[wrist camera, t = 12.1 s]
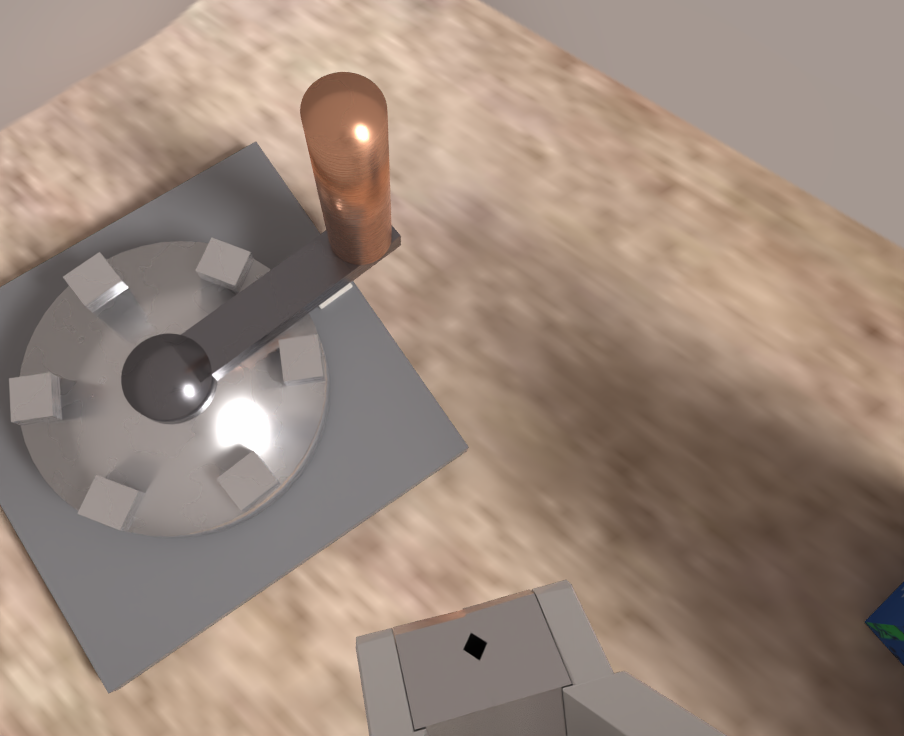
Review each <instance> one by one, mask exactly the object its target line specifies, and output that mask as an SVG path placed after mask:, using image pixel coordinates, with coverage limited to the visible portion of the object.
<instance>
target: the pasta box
mask: <svg viewBox="0 0 904 736" xmlns="http://www.w3.org/2000/svg"><path fill="white" fill-rule="evenodd" d="M865 623H866V625H867V626H868V627H869V628H870V629H871V630H872V631H873V632H874V633H875V635H876V636H877V637H878V638H879V639H880V640H881V641H882V642H883V643H884V645H885V646H886V647H887V648H888V649H889V650H890V651H891V652H892V653H893V655H894V656H895V657H896V658H897V659H898V660H899V661H900V662H901V663H902V665H903V666H904V582H903V583H902V584H901V585H900V586H899V587H898V588H897V589H896V590H895V591H894V592H893V593H892V594H891V595H890V596H889V597H888V598H887V599H886V600H885V601H884V602H883V603H882V604H881V605H880V606H879V607H878V608H877V609H876V610H875V612H874V613H873V614H872V615H871V616H870V617H869V618H868V619H867V620H866V621H865Z"/></svg>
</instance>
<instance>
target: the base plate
mask: <svg viewBox="0 0 904 736" xmlns="http://www.w3.org/2000/svg"><path fill="white" fill-rule="evenodd" d="M319 235H320V233H319V231H318V230H317V228H316V227H315V226H314V224H313V223H312V221H311V220H310V218H309V217H308V216H307V214H306V213H305V211H304V210H303V208H302V207H301V205H300V204H299V203H298V201H297V200H296V198H295V197H294V195H293V194H292V193H291V191H290V190H289V188H288V187H287V185H286V184H285V182H284V181H283V180H282V178H281V177H280V175H279V174H278V172H277V171H276V170H275V168H274V167H273V165H272V164H271V162H270V161H269V159H268V158H267V157H266V155H265V154H264V152H263V151H262V149H261V148H260V147H259V145H258V144H257V142H254V143H252V144H251V145H249V146H247V147H245V148H244V149H242V150H240V151H238V152H237V153H235V154H233V155H231V156H230V157H228V158H226V159H224V160H223V161H221V162H219V163H217V164H215V165H214V166H212V167H210V168H208V169H207V170H205V171H203V172H201V173H200V174H198V175H196V176H194V177H193V178H191V179H189V180H187V181H186V182H184V183H182V184H180V185H179V186H177V187H175V188H173V189H172V190H170V191H168V192H166V193H165V194H163V195H161V196H159V197H158V198H156V199H154V200H152V201H151V202H149V203H147V204H145V205H144V206H142V207H140V208H138V209H136V210H135V211H133V212H131V213H129V214H128V215H126V216H124V217H122V218H121V219H119V220H117V221H115V222H114V223H112V224H110V225H108V226H107V227H105V228H103V229H101V230H100V231H98V232H96V233H94V234H93V235H91V236H89V237H87V238H86V239H84V240H82V241H80V242H79V243H77V244H75V245H73V246H72V247H70V248H68V249H66V250H65V251H63V252H61V253H59V254H57V255H56V256H54V257H52V258H50V259H49V260H47V261H45V262H43V263H42V264H40V265H38V266H36V267H35V268H33V269H31V270H29V271H28V272H26V273H24V274H22V275H21V276H19V277H17V278H15V279H14V280H12V281H10V282H8V283H7V284H5V285H3V286H1V287H0V505H1V507H2V509H3V510H4V512H5V514H6V516H7V517H8V519H9V521H10V523H11V524H12V526H13V528H14V530H15V531H16V533H17V535H18V536H19V538H20V540H21V542H22V543H23V545H24V547H25V549H26V550H27V552H28V554H29V556H30V557H31V559H32V561H33V563H34V564H35V566H36V568H37V570H38V571H39V573H40V575H41V577H42V578H43V580H44V582H45V584H46V585H47V587H48V589H49V591H50V592H51V594H52V596H53V598H54V599H55V601H56V603H57V604H58V606H59V608H60V610H61V611H62V613H63V615H64V617H65V618H66V620H67V622H68V624H69V625H70V627H71V629H72V631H73V632H74V634H75V636H76V638H77V639H78V641H79V643H80V645H81V646H82V648H83V650H84V652H85V653H86V655H87V657H88V659H89V660H90V662H91V664H92V666H93V667H94V669H95V671H96V672H97V674H98V676H99V678H100V679H101V681H102V683H103V685H104V686H105V688H106V690H107V692H108V693H111V692H113V691H116V690H118V689H120V688H122V687H123V686H124V685H126V684H127V683H129V682H130V681H132V680H133V679H135V678H136V677H138V676H139V675H141V674H142V673H143V672H145V671H146V670H148V669H149V668H151V667H152V666H154V665H155V664H157V663H158V662H159V661H161V660H162V659H164V658H165V657H167V656H168V655H170V654H171V653H173V652H174V651H176V650H177V649H178V648H180V647H181V646H183V645H184V644H186V643H187V642H189V641H190V640H192V639H193V638H195V637H196V636H197V635H199V634H200V633H202V632H203V631H205V630H206V629H208V628H209V627H211V626H212V625H214V624H215V623H216V622H218V621H219V620H221V619H222V618H224V617H225V616H227V615H228V614H230V613H231V612H233V611H234V610H235V609H237V608H238V607H240V606H241V605H243V604H244V603H246V602H247V601H249V600H250V599H251V598H253V597H254V596H256V595H257V594H259V593H260V592H262V591H263V590H265V589H266V588H268V587H269V586H270V585H272V584H273V583H275V582H276V581H278V580H279V579H281V578H282V577H284V576H285V575H287V574H288V573H289V572H291V571H292V570H294V569H295V568H297V567H298V566H300V565H301V564H303V563H304V562H306V561H307V560H308V559H310V558H311V557H313V556H314V555H316V554H317V553H319V552H320V551H322V550H323V549H325V548H326V547H327V546H329V545H330V544H332V543H333V542H335V541H336V540H338V539H339V538H341V537H342V536H343V535H345V534H346V533H348V532H349V531H351V530H352V529H354V528H355V527H357V526H358V525H360V524H361V523H362V522H364V521H365V520H367V519H368V518H370V517H371V516H373V515H374V514H376V513H377V512H379V511H380V510H381V509H383V508H384V507H386V506H387V505H389V504H390V503H392V502H393V501H395V500H396V499H398V498H399V497H400V496H402V495H403V494H405V493H406V492H408V491H409V490H411V489H412V488H414V487H415V486H417V485H418V484H419V483H421V482H422V481H424V480H425V479H427V478H428V477H430V476H431V475H433V474H434V473H436V472H437V471H438V470H440V469H441V468H443V467H444V466H446V465H447V464H449V463H450V462H452V461H453V460H454V459H456V458H457V457H459V456H460V455H462V454H463V453H465V452H466V451H467V449H468V446H467V444H466V443H465V441H464V440H463V438H462V437H461V435H460V434H459V433H458V431H457V430H456V428H455V427H454V425H453V424H452V423H451V421H450V420H449V418H448V417H447V415H446V414H445V412H444V411H443V410H442V408H441V407H440V405H439V404H438V402H437V401H436V400H435V398H434V397H433V395H432V394H431V392H430V391H429V389H428V388H427V387H426V385H425V384H424V382H423V381H422V379H421V378H420V377H419V375H418V374H417V372H416V371H415V369H414V368H413V366H412V365H411V364H410V362H409V361H408V359H407V358H406V356H405V355H404V354H403V352H402V351H401V349H400V348H399V346H398V345H397V343H396V342H395V341H394V339H393V338H392V336H391V335H390V333H389V332H388V331H387V329H386V328H385V326H384V325H383V323H382V322H381V320H380V319H379V318H378V316H377V315H376V313H375V312H374V310H373V309H372V308H371V306H370V305H369V303H368V302H367V300H366V299H365V297H364V296H363V295H362V293H361V292H360V290H359V289H358V287H357V286H356V285H355V283H354V282H353V281H352V282H350V283H349V284H348V285H346V286H345V287H344V288H342V289H341V290H340V291H338V292H337V293H336V294H334V295H333V296H331V297H330V298H329V299H327V300H326V301H325V302H323V303H322V304H321V305H319V306H318V307H317V308H315V309H314V310H312V311H311V312H310V313H309V315H310V317H311V318H312V320H313V322H314V324H315V327H316V330H317V333H318V335H319V338H320V341H321V344H322V347H323V349H324V352H325V355H326V360H327V365H328V369H329V378H330V402H329V411H328V416H327V421H326V426H325V429H324V432H323V435H322V438H321V440H320V443H319V445H318V447H317V449H316V451H315V453H314V455H313V457H312V460H311V461H310V463H309V464H308V466H307V467H306V469H305V470H304V472H303V473H302V475H301V476H300V477H299V479H298V480H297V481H296V482H295V483H294V484H293V486H292V487H291V488H290V489H289V490H288V491H287V492H286V493H285V494H284V495H283V496H282V497H280V498H279V499H278V500H277V501H276V502H275V503H274V504H273V505H271V506H270V507H268V508H267V509H265V510H264V511H262V512H261V513H260V514H258V515H257V516H255V517H253V518H251V519H249V520H247V521H245V522H243V523H241V524H239V525H237V526H234V527H231V528H229V529H226V530H223V531H220V532H216V533H212V534H207V535H203V536H196V537H185V538H170V537H156V536H149V535H143V534H137V533H131V532H125V531H121V530H118V529H115V528H112V527H109V526H106V525H104V524H102V523H99V522H97V521H95V520H92V519H90V518H87V517H85V516H82V515H79V514H77V513H78V510H76V509H75V508H73V507H72V506H70V505H69V504H68V503H67V502H66V501H65V500H64V499H62V498H61V497H60V496H59V495H58V494H57V493H56V492H55V491H54V490H53V489H52V487H51V486H50V485H49V484H48V483H47V482H46V480H45V479H44V478H43V477H42V475H41V473H40V472H39V470H38V468H37V467H36V465H35V464H34V462H33V460H32V458H31V455H30V453H29V451H28V448H27V446H26V444H25V440H24V437H23V433H22V429H21V426H20V425H18V424H15V423H13V422H11V411H10V389H9V378H15V377H20V372H21V366H22V362H23V359H24V356H25V352H26V349H27V346H28V344H29V342H30V339H31V337H32V335H33V333H34V331H35V329H36V327H37V325H38V324H39V322H40V320H41V319H42V317H43V315H44V314H45V312H46V311H47V310H48V308H49V307H50V306H51V305H52V303H53V302H54V301H55V300H56V298H57V297H58V296H59V295H60V294H61V293H62V292H63V291H64V290H65V289H66V288H67V287H68V286H69V285H68V283H67V282H66V281H65V279H64V278H63V276H65V275H66V274H68V273H69V272H71V271H72V270H74V269H75V268H77V267H78V266H80V265H81V264H82V263H84V262H85V261H87V260H88V259H90V258H91V257H93V256H94V255H96V254H97V253H99V252H100V253H101V254H102V255H103V256H104V257H105V258H106V259H109V258H111V257H113V256H115V255H118V254H120V253H122V252H125V251H128V250H131V249H134V248H137V247H140V246H145V245H150V244H155V243H161V242H174V241H189V242H202V243H209V241H210V239H211V237H212V238H215V239H217V240H220V241H223V242H225V243H228V244H231V245H233V246H236V247H239V248H241V249H244V250H247V251H249V252H251V254H252V256H253V258H254V259H255V260H256V261H258V262H260V263H261V264H263V265H265V266H266V267H268V268H269V269H273V268H274V267H276V266H277V265H278V264H280V263H281V262H283V261H284V260H285V259H287V258H288V257H290V256H291V255H292V254H294V253H295V252H297V251H298V250H299V249H301V248H302V247H303V246H305V245H306V244H308V243H309V242H310V241H312V240H313V239H315V238H316V237H317V236H319Z"/></svg>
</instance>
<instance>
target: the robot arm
mask: <svg viewBox="0 0 904 736" xmlns="http://www.w3.org/2000/svg"><path fill="white" fill-rule="evenodd" d="M393 629H394V631H393ZM356 652H357V659H358V665H359V671H360V678H361V684H362V691H363V697H364V704H365V710H366V717H367V723H368V729H369V736H727V735H725V734H723V733H722V732H720V731H719V730H717V729H716V728H714V727H712V726H711V725H709V724H708V723H706V722H705V721H703V720H701V719H700V718H698V717H697V716H695V715H694V714H692V713H690V712H689V711H687V710H686V709H684V708H683V707H681V706H679V705H678V704H676V703H675V702H673V701H672V700H670V699H668V698H667V697H665V696H664V695H662V694H661V693H659V692H657V691H656V690H654V689H653V688H651V687H649V686H648V685H646V684H645V683H643V682H642V681H640V680H638V679H637V678H635V677H634V676H632V675H631V674H629V673H627V672H626V671H621V672H617V673H614V672H613V670H612V668H611V666H610V664H609V662H608V660H607V658H606V655H605V653H604V651H603V649H602V647H601V645H600V643H599V641H598V639H597V637H596V635H595V633H594V630H593V628H592V626H591V624H590V622H589V620H588V618H587V616H586V614H585V612H584V610H583V608H582V605H581V603H580V601H579V599H578V597H577V595H576V593H575V591H574V589H573V587H572V585H571V584H570V583H569V582H568V581H567V580H563V581H560V582H556V583H552V584H549V585H545V586H542V587H538V588H534V589H532V591H531V590H530V589H529V590H526V591H522V592H519V593H515V594H512V595H508V596H505V597H501V598H498V599H495V600H491V601H488V602H484V603H481V604H477V605H474V606H470V607H467V608H463V610H460V611H456V612H452V613H448V614H444V615H440V616H436V617H432V618H428V619H424V620H420V621H416V622H412V623H408V624H404V625H400V626H396V627H393V628H390V629H386V630H382V631H378V632H374V633H370V634H366V635H362V636H359V637H356Z"/></svg>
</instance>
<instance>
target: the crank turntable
mask: <svg viewBox="0 0 904 736" xmlns="http://www.w3.org/2000/svg"><path fill="white" fill-rule="evenodd" d="M300 114H301V120H302V124H303V129H304V133H305V137H306V142H307V146H308V151H309V155H310V159H311V164H312V168H313V173H314V177H315V181H316V186H317V190H318V195H319V199H320V203H321V208H322V212H323V217H324V221H325V226H326V231H324V232H323V233H322V234H320V235H319V236H317V237H316V238H315V239H313V240H312V241H310V242H309V243H308V244H306V245H305V246H303V247H302V248H301V249H299V250H298V251H297V252H295V253H294V254H292V255H291V256H290V257H288V258H287V259H285V260H284V261H283V262H281V263H280V264H278V265H277V266H276V267H274V268H273V269H269V268H268V267H266V266H265V265H263V264H261V263H260V262H258V261H256V260H255V259H254V258H253V256H252V254H251V252H249V251H247V250H244V249H241V248H239V247H236V246H233V245H231V244H228V243H225V242H223V241H220V240H217V239H215V238H212V237H211V239H210V241H209V243H202V242H189V241H174V242H161V243H155V244H150V245H145V246H140V247H137V248H134V249H131V250H128V251H125V252H122V253H120V254H118V255H115V256H113V257H111V258H109V259H106V258H105V257H104V256H103V255H102V254H101V253H100V252H99V253H97V254H96V255H94V256H93V257H91V258H90V259H88V260H87V261H85V262H84V263H82V264H81V265H80V266H78V267H77V268H75V269H74V270H72V271H71V272H69V273H68V274H66V275H65V276H63V278H64V279H65V281H66V282H67V283H68V285H69V286H68V287H67V288H66V289H65V290H64V291H63V292H62V293H61V294H60V295H59V296H58V297H57V298H56V300H55V301H54V302H53V303H52V305H51V306H50V307H49V308H48V310H47V311H46V312H45V314H44V315H43V317H42V319H41V320H40V322H39V324H38V325H37V327H36V329H35V331H34V333H33V335H32V337H31V339H30V342H29V344H28V346H27V349H26V352H25V356H24V359H23V362H22V366H21V372H20V377H15V378H9V389H10V411H11V422H13V423H15V424H18V425H20V426H21V429H22V433H23V437H24V440H25V444H26V446H27V448H28V451H29V453H30V455H31V458H32V460H33V462H34V464H35V465H36V467H37V468H38V470H39V472H40V473H41V475H42V477H43V478H44V479H45V480H46V482H47V483H48V484H49V485H50V486H51V487H52V489H53V490H54V491H55V492H56V493H57V494H58V495H59V496H60V497H61V498H62V499H64V500H65V501H66V502H67V503H68V504H69V505H70V506H72V507H73V508H75V509H76V510H78V513H77V514H79V515H82V516H85V517H87V518H90V519H92V520H95V521H97V522H99V523H102V524H104V525H106V526H109V527H112V528H115V529H118V530H121V531H125V532H131V533H137V534H143V535H149V536H156V537H170V538H185V537H196V536H203V535H207V534H212V533H216V532H220V531H223V530H226V529H229V528H231V527H234V526H237V525H239V524H241V523H243V522H245V521H247V520H249V519H251V518H253V517H255V516H257V515H258V514H260V513H261V512H262V511H264V510H265V509H267V508H268V507H270V506H271V505H273V504H274V503H275V502H276V501H277V500H278V499H279V498H280V497H282V496H283V495H284V494H285V493H286V492H287V491H288V490H289V489H290V488H291V487H292V486H293V484H294V483H295V482H296V481H297V480H298V479H299V477H300V476H301V475H302V473H303V472H304V470H305V469H306V467H307V466H308V464H309V463H310V461H311V460H312V457H313V455H314V453H315V451H316V449H317V447H318V445H319V443H320V440H321V438H322V435H323V432H324V429H325V426H326V421H327V416H328V411H329V402H330V378H329V369H328V365H327V360H326V355H325V352H324V349H323V347H322V344H321V341H320V338H319V335H318V333H317V330H316V327H315V324H314V322H313V320H312V318H311V317H310V315H309V313H310V312H311V311H312V310H314V309H315V308H317V307H318V306H319V305H321V304H322V303H323V302H325V301H326V300H327V299H329V298H330V297H331V296H333V295H334V294H336V293H337V292H338V291H340V290H341V289H342V288H344V287H345V286H346V285H348V284H349V283H350V282H352V281H353V280H354V279H356V278H357V277H359V276H360V275H361V274H363V273H364V272H365V271H367V270H368V269H369V268H371V267H372V266H373V265H375V264H376V263H377V262H379V261H380V260H382V259H383V258H384V257H386V256H387V255H388V254H390V253H391V252H392V251H394V250H395V249H396V248H398V247H399V246H401V236H400V234H399V233H398V232H397V231H396V230H395V229H394V227H393V226H392V225H391V199H390V172H389V144H388V116H387V104H386V100H385V97H384V95H383V93H382V92H381V90H380V89H379V88H378V86H377V85H376V84H375V83H373V82H372V81H371V80H369V79H368V78H366V77H364V76H361V75H359V74H355V73H350V72H337V73H332V74H329V75H326V76H324V77H321V78H320V79H318V80H317V81H315V82H314V83H313V84H312V85H311V86H310V87H309V88H308V89H307V91H306V92H305V94H304V96H303V99H302V102H301V108H300Z"/></svg>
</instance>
